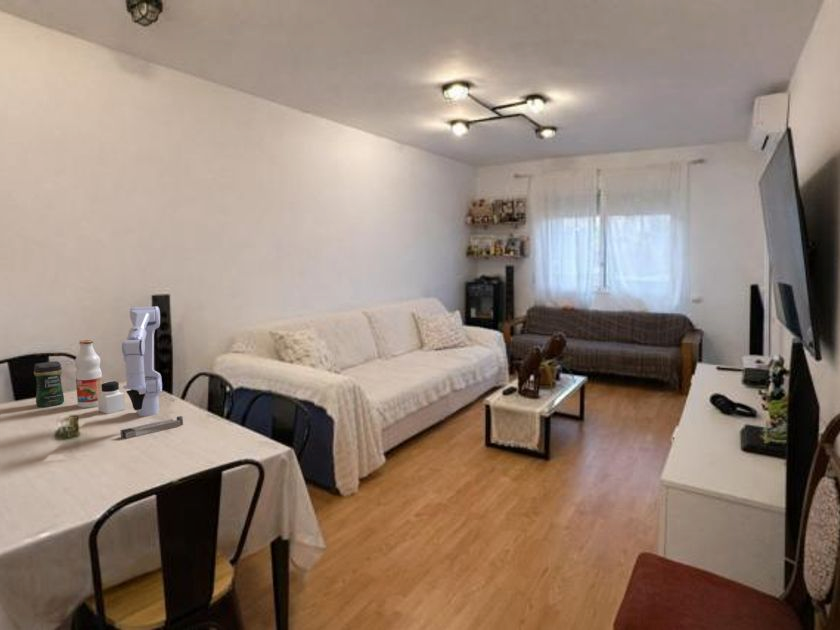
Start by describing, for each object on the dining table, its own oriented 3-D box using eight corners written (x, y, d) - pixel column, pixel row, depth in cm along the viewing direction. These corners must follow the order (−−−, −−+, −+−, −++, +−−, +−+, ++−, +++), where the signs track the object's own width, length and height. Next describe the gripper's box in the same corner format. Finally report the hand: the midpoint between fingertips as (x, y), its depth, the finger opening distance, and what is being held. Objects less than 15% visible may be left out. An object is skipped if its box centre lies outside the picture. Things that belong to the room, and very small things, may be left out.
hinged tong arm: (172, 425, 184) (171, 418, 184) (173, 425, 183) (173, 419, 183) (120, 436, 172) (120, 430, 172) (122, 438, 171) (121, 431, 171)
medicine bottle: (125, 409, 208) (123, 381, 206) (107, 414, 202) (104, 385, 200) (116, 406, 211) (114, 379, 210) (98, 411, 205) (96, 382, 204)
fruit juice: (109, 403, 217) (104, 339, 213) (87, 409, 208) (82, 343, 205) (94, 400, 220) (89, 338, 217) (72, 406, 211) (67, 341, 208)
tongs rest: (108, 434, 179) (107, 422, 178) (172, 420, 194) (172, 409, 194) (123, 447, 166) (122, 435, 166) (191, 431, 182) (190, 419, 181)
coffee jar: (39, 409, 208) (35, 365, 206) (34, 405, 213) (30, 362, 211) (67, 403, 216) (63, 361, 213) (61, 400, 221) (57, 359, 218)
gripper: (116, 371, 181) (119, 407, 182) (128, 378, 170) (131, 416, 172) (138, 367, 186) (140, 403, 187) (151, 374, 175) (153, 412, 177)
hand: (137, 409), depth 180 cm, fingers closed
